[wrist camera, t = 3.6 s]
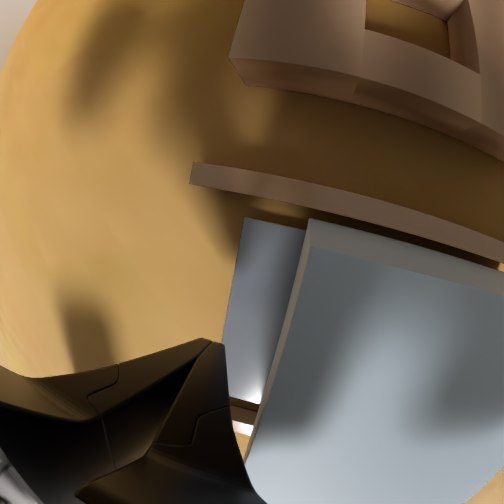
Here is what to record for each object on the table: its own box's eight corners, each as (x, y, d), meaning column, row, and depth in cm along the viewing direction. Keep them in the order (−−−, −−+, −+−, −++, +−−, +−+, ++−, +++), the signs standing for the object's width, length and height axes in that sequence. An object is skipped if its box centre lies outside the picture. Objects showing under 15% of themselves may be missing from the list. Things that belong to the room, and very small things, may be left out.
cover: (506, 273, 8) (591, 321, 3) (424, 436, 10) (448, 516, 5) (309, 217, 9) (310, 247, 4) (256, 415, 12) (225, 512, 6)
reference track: (569, 273, 7) (579, 278, 6) (488, 437, 10) (493, 446, 9) (203, 164, 10) (193, 161, 9) (174, 397, 13) (167, 408, 12)
